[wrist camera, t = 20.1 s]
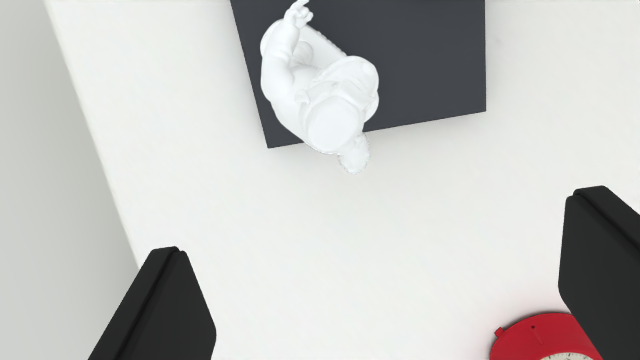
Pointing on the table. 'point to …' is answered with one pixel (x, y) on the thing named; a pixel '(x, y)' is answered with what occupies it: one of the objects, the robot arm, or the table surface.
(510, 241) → the table surface
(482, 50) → the scale
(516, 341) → the alarm clock
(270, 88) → the figurine
